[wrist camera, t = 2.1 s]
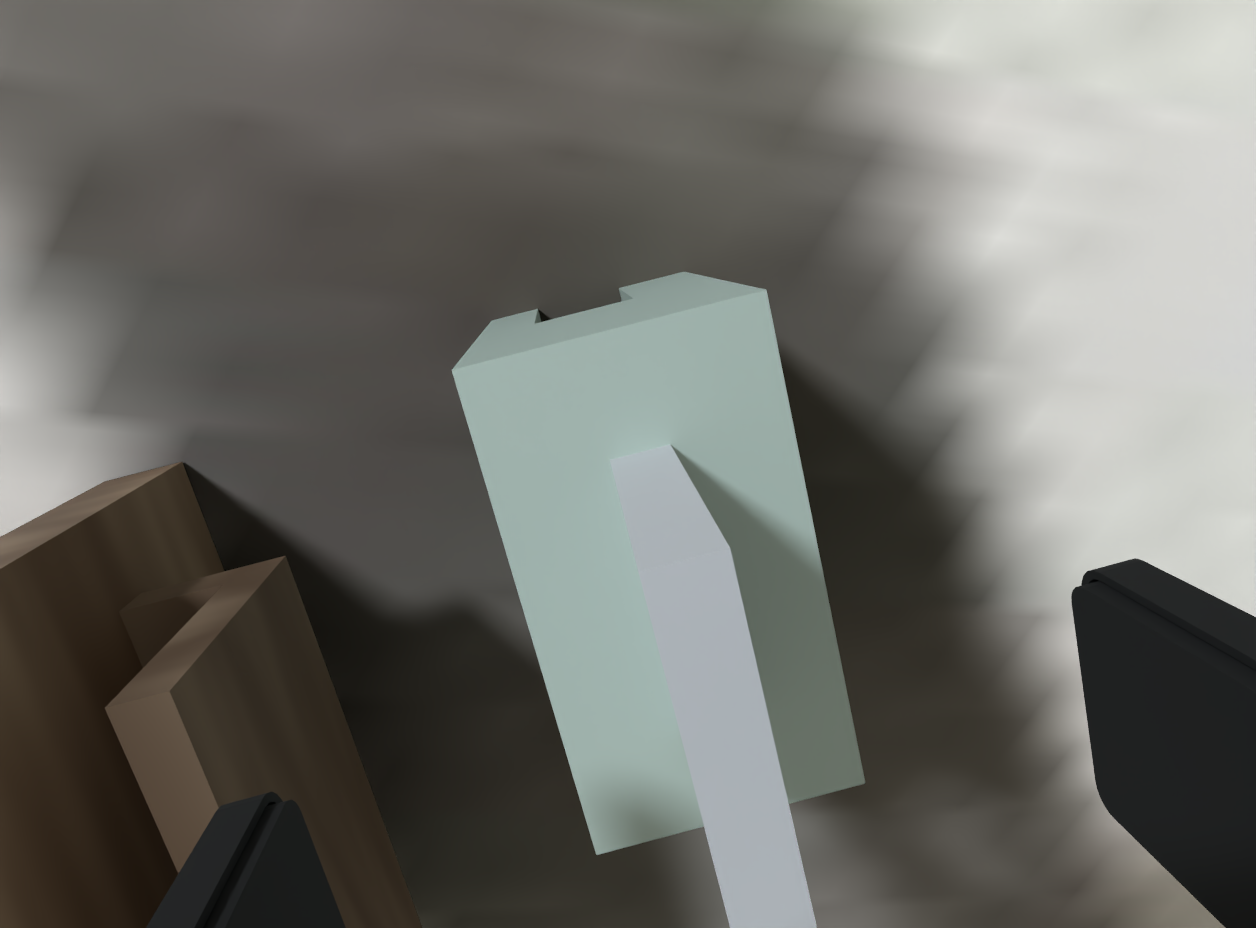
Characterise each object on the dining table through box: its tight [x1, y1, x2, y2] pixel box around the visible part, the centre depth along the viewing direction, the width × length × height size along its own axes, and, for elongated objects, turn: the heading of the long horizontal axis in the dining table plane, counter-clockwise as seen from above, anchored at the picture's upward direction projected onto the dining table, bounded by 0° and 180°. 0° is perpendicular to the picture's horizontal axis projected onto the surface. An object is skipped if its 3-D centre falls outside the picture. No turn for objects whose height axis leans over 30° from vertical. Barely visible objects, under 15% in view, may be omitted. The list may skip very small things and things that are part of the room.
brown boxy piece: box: [0, 462, 422, 928], centre depth 19 cm, size 11×16×12 cm
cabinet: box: [452, 272, 865, 928], centre depth 17 cm, size 5×9×14 cm, turn 14°
